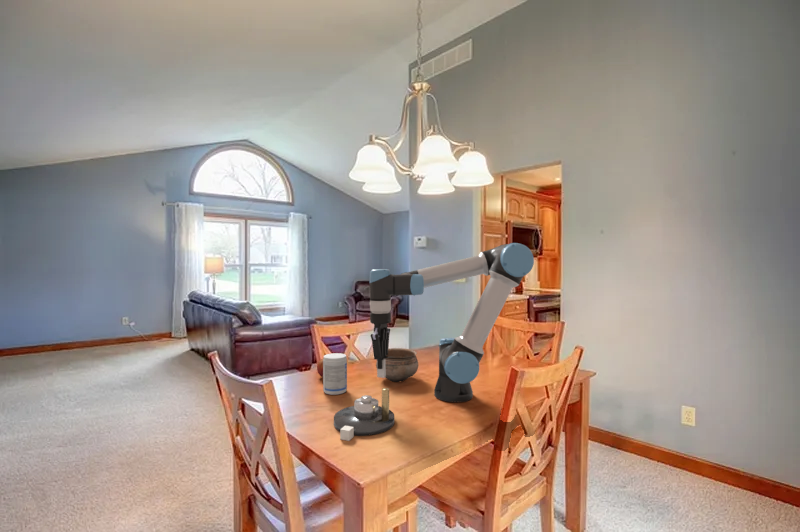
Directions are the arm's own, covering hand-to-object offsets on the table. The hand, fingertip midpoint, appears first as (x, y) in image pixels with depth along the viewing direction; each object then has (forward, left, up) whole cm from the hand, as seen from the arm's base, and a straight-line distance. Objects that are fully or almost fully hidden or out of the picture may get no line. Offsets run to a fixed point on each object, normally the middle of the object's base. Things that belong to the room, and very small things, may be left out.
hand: (381, 376), depth 144 cm
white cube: (+1, +25, -12) cm, 28 cm away
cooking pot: (+7, -34, -12) cm, 36 cm away
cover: (0, +12, -10) cm, 15 cm away
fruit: (+37, -25, -12) cm, 46 cm away
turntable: (+1, +13, -12) cm, 18 cm away
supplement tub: (+25, -10, -12) cm, 29 cm away
